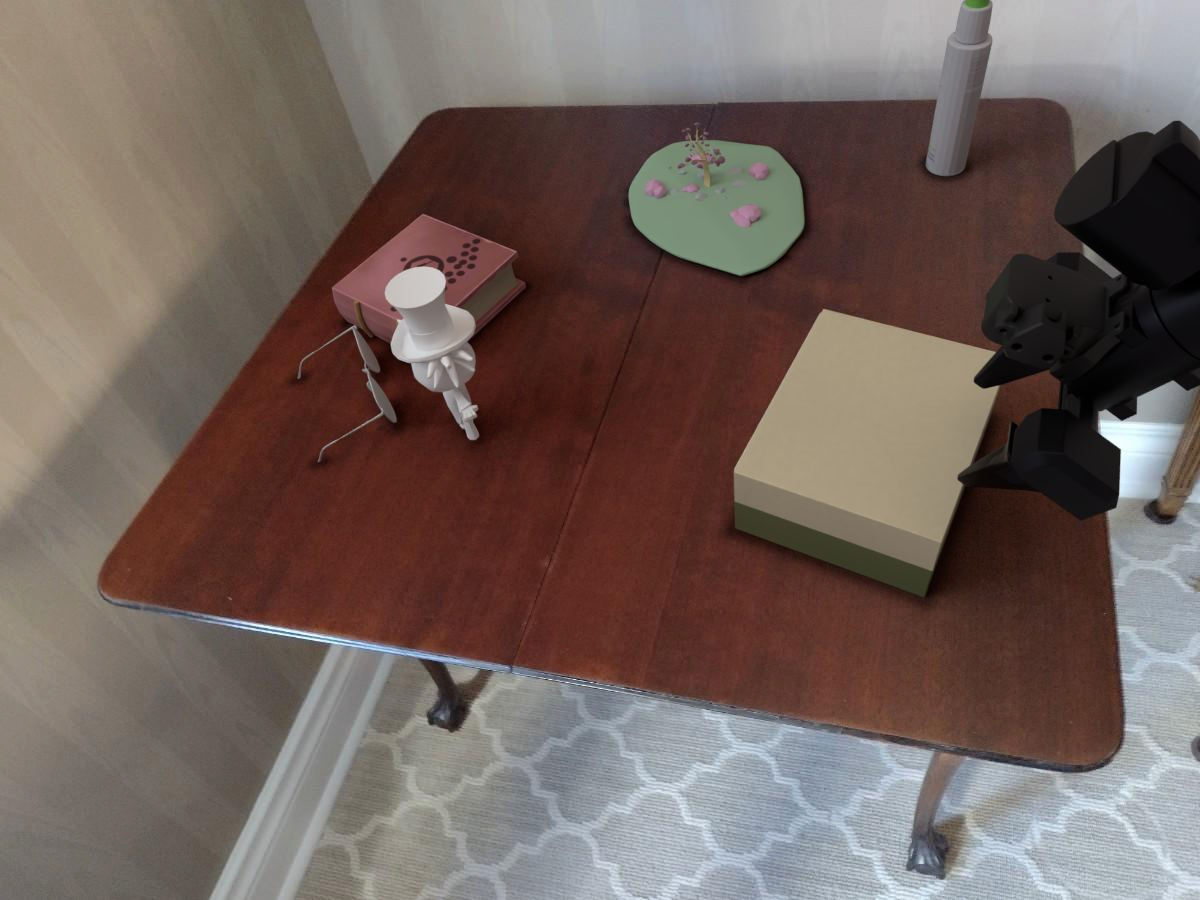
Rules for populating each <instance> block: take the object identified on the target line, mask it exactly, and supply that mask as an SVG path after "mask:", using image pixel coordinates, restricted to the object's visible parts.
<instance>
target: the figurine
mask: <svg viewBox="0 0 1200 900" xmlns="http://www.w3.org/2000/svg"><path fill="white" fill-rule="evenodd" d="M445 284H446V280H445V276H444V274H443V273H442V272H441V271H440V270H437V269H435V268H433V267H414V268H411V269H408V270H405V271H403V272H401V273H399V274H397V275H396V276H395V277H394V278H393V279H391V280H390V282H389V283H388V285H387V286H386V289H385V297H386V300H387V301H388V302H389V303H390V304H391V305H392V306H393V307H394V308H395V309H397V310H398V311H399V313H400V314H401V315H402V317H403V319H402V320H399V319H397V321H398V323H399V324H398V326H397V328H396V330H395V332H394V335H393V338H392V341H391V343H390V349H391V352H392V355H393V356H394V357H395V358H396V359H397V360H399V361H402V362H405V363H408V364H410V365H411V369H412V373H413V377H414V379H415V380H416V381H417V382H418V383H419V384H421V385H422V386H424V387H425V388H426V389H427V390H429V391H430V392H433V393H442V395H443V398H444V400H445V404H446V405H447V407H448V409H449V410H450V412H451V413H452V416H453V417H454V419H455V421H456V423H457V424H458V425H459V427H461V430H462V429H463V430H465V433H466V437H467V438H468V440H470V441H476V440H477V439H478V438H479V437H480V433H479V431H478V429H477V427H476V425H475V423H474V420H475V419H476V418H478V414H477V413H476V412H477V411H478V410H479V407H478V405H477V404H474V405H473V404H472V399H471V396H470V393H469V391H468V387H467V386H466V383H467V382H469V381H471V379H472V378H473V376H474V375H475V372H476V364H477V363H476V361H477V360H476V354H475V351H474V349H473V346H472V345H471V344H470V343H469V341H470V340H471V339H472V338H473V337H474V336H473V334H474V331H475V327H476V324H475V321H474V317H473V316H472V315H471V314H470V313H469V312H468V311H466V310H463V309H461V308H458V307H454V306H451V305H447V304H445V297H444V292H445ZM472 336H473V337H472ZM471 337H472V338H471ZM470 338H471V339H470ZM469 339H470V340H469ZM468 340H469V341H468ZM467 341H468V342H467Z"/></svg>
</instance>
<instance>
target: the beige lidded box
mask: <svg viewBox="0 0 1200 900" xmlns="http://www.w3.org/2000/svg"><path fill="white" fill-rule="evenodd" d="M996 352H997V351H994V350H990V349H985V348H981V347H977V346H974V345H969V344H965V343H961V342H958V341H954V340H950V339H945V338H941V337H937V336H933V335H929V334H926V333H921V332H917V331H913V330H910V329H906V328H901V327H897V326H895V325H890V324H885V323H881V322H878V321H873V320H869V319H866V318H863V317H857V316H853V315H850V314H846V313H842V312H838V311H834V310H830V309H826V308H823V309H822V311H821V312H819V314H818V315H817V317H816V319H815V321H814V323H813V325H812V327H811V328H810V330H809V332H808V334H807V335H806V338H805V339H804V341H803V343H802V345H801V347H800V348H799V350H798V352H797V354H796V356H795V358H794V359H793V361H792V363H791V365H790V367H789V368H788V369H787V372H786V374H785V375H784V378H782V381H781V383H780V385H778V386H779V387H778V389H777V390H776V392H775V394H774V395H773V398H772V399H771V401H770V403H769V405H768V407H767V408H766V410H765V412H764V413H763V416H762V417H761V420H760V421H759V423H758V424H757V426H756V428H755V430H754V432H753V433H752V436H751V437H750V440H749V441H748V443H747V445H746V447H745V449H743V450H744V451H743V452H742V454H741V455H740V458H739V459H738V461H737V463H736V464H735V466H734V468H733V497H734V499H733V501H734V528H735V529H736V530H738V531H741V532H744V533H747V534H749V535H752V536H755V537H758V538H761V539H763V540H765V541H768V542H771V543H773V544H776V545H779V546H782V547H785V548H787V549H790V550H793V551H795V552H798V553H802V554H803V555H806V556H809V557H812V558H815V559H818V560H820V561H823V562H826V563H828V564H832V565H834V566H837V567H840V568H842V569H845V570H848V571H851V572H854V573H856V574H859V575H862V576H864V577H867V578H870V579H872V580H875V581H878V582H881V583H884V584H885V585H889V586H891V587H895V588H897V589H900V590H903V591H904V592H908V593H910V594H913V595H916V596H919V597H921V598H925V597H926V595H927V592H928V590H929V587H930V584H931V581H932V579H933V576H934V573H935V570H936V568H937V565H938V562H939V559H940V556H941V554H942V552H943V549H944V546H945V543H946V541H947V539H948V535H949V532H950V530H951V526H952V524H953V522H954V518H955V515H956V513H957V510H958V507H959V505H960V502H961V499H962V497H963V495H964V491H965V490H966V489H965V488H966V486H965V485H964V484H962V483H961V482H959V481H958V480H957V477H958V474H959V473H961V472H962V471H963V470H965V469H966V468H967V467H969V466H970V465H972V464H973V463H975V462H976V458H977V456H978V453H979V451H980V447H981V445H982V442H983V439H984V437H985V434H986V432H987V428H988V426H989V423H990V420H991V417H992V415H993V412H994V408H995V405H996V402H997V399H998V396H999V393H1000V389H1001V386H1002V385H999V386H995V387H990V388H986V389H982V388H981V387H979V386H978V385H976V384H975V383H974V377H975V376H976V374H977V373H978V372H979V371H980V370H981V369H982V368H983V366H984V365H985V364H986V363H987V362H988V361H989V360H990V359H991V357H992V356H993V355H994V354H995V353H996Z"/></svg>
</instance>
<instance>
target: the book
mask: <svg viewBox="0 0 1200 900" xmlns="http://www.w3.org/2000/svg"><path fill="white" fill-rule="evenodd" d="M518 258H519V255H518V251H517V250H514V249H512V248H509V247H507V246H504V245H502V244H500V243H497V242H495V241H492V240H490V239H487V238H484V237H482V236H480V235H477V234H474V233H472V232H469V231H467V230H465V229H462V228H459V227H457V226H455V225H452V224H451V223H447V222H444V221H442V220H440V219H437V218H434V217H433V216H429V215H428V214H425V213H422V214H421V215H420V216H418V217H417V218H416V219H415V220H414V221H412V222H411V223H410V224H409V225H407V226H406V227H405V228H404V229H402V230H401V231H400V232H399V233H398V234H396V235H395V236H394V237H392V238H391V239H390V240H389V241H388V242H386V243H385V244H384V245H383V246H381V247H380V248H379V249H378V250H376V251H375V252H374V253H372V255H370V256H369V257H368V258H366V259H365V260H364V261H363V262H361V264H359V265H358V266H357V267H356V268H355V269H353V270H352V271H350V272H349V273H348V274H347V275H346V276H344V277H343V278H342V279H340V280H339V281H338V282H337V283H335V285H333V286H332V287H331V290H332V291H331V292H332V296H333V302H334V304H335V306H336V309H337V310H338V312H339V314H340V315H341V316H342V317H343V318H344V319H345V320H346V321H347V323H349V324H351V325H352V326H354V325H355V326H356V327H357V328H359V329H361V330H363V331H364V333H366V334H367V336H368V337H369V338H371V339H372V338H374V337H376V338H379V339H381V340H383V341H385V342H386V343H388V344H391V341H392V338H393V335H394V332H395V330H396V328H397V326H398V324H399V323H398V321H397V319H399V320H402V319H403V317H402V315H401V314H400V313H399V311H398V310H397V309H395V308H394V307H393V306H392V305H391V304H390V303H389V302H388V301H387V300H386V297H385V289H386V286H387V285H388V283H389V282H390V280H391V279H393V278H394V277H395V276H396V275H397V274H399V273H401V272H403V271H405V270H408V269H411V268H414V267H433V268H435V269H437V270H440V271H441V272H442V273H443V274H444V276H445V280H446V284H445V292H444V297H445V304H447V305H451V306H454V307H458V308H461V309H463V310H466V311H468V312H469V313H470V314H471V315H472V316H473V317H474V321H475V324H476V327H475V331H474V334H473V336H472V337H471V338H470V339H469V340H468V341H467V343H469V341H470V340H471V339H472V338H473V337H474V336H475V335H477V333H479V332H480V331H481V330H482V329H483V328H484V327H485V326H486V325H487V324H488V323H489V322H490V321H491V320H492V319H494V318H495V317H496V316H497V315H498V314H499V313H500V312H501V311H502V310H503V309H504V308H505V307H506V306H507V305H508V304H510V303H511V301H513V300H514V299H515V298H516V297H517V296H518V295H519V294H520V293H521V292H523V291H524V290H525V289H526V288H527V286H526V282H525V281H524V280H520V279H518V278H516V277H515V273H514V270H513V262H514V261H515V260H517V259H518Z"/></svg>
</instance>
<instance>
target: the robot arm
mask: <svg viewBox="0 0 1200 900" xmlns="http://www.w3.org/2000/svg"><path fill="white" fill-rule="evenodd" d="M1058 196H1059V197H1058V198H1057V200H1056V203H1055V206H1054V210H1053V216H1054V217H1053V218H1054V220H1055V222H1056V223H1057V224H1058V225H1060V226H1061V227H1062V228H1063V229H1065V230H1066V231H1067V232H1069V234H1071V235H1072V236H1073V237H1075V238H1076V239H1077V240H1078V241H1079V242H1081V243H1082V244H1084V245H1085V246H1086V247H1088V249H1090V250H1091V251H1092V252H1094V253H1095V254H1096V255H1098V256H1099V257H1100V258H1101V259H1102V260H1104V261H1105V262H1106V263H1107V264H1109V266H1111V267H1113V268H1114V269H1115V270H1117V271H1118V272H1119V274H1118V275H1116V276H1114V277H1112V276H1111V275H1109V273H1107V272H1106V271H1104V270H1103V268H1101V267H1099V266H1098V265H1097V264H1095V262H1093V261H1091V259H1089V258H1088V257H1086V256H1085V255H1084V254H1082V253H1081V252H1077V251H1076V252H1075V251H1073V252H1072V251H1067V252H1066V251H1063V252H1057V253H1055V254H1053V255H1052V256H1050V257H1049V258H1048V259H1042V258H1039V257H1037V256H1033V255H1031V254H1027V253H1016V254H1014V255H1013V256H1012V257H1011V258H1010V260H1009V261H1008V263H1007V264H1006V266H1004V268H1003V269H1002V271H1001V272H1000V274H998V277H997V278H996V280H995V281H994V282H993V284H992V285H991V287H990V288H989V289H988V291H987V293H986V296H985V307H984V312H983V313H984V314H983V318H982V320H981V325H980V329H981V332H982V335H983V336H984V337H985V338H986V339H987V340H989V341H990V342H992V343H995V344H997V345H999V346H1000V347H999V348H998V349H997V350H996V351H995V352H996V353H995V354H994V355H993V356H992V357H991V359H990V360H989V361H988V362H987V363H986V364H985V365H984V366H983V368H982V369H981V370H980V371H979V372H978V373H977V374H976V376H975V377H974V383H975V384H976V385H978V386H979V387H981V388H982V389H986V388H990V387H995V386H999V385H1001V386H1003V385H1006V384H1009V383H1012V382H1016V381H1018V380H1022V379H1024V378H1025V379H1026V378H1028V377H1031V376H1033V375H1037V374H1041V373H1043V372H1046V371H1048V374H1050V375H1051V376H1052V377H1053V378H1054V379H1056V380H1057V381H1058V382H1059V389H1058V390H1059V391H1058V399H1057V400H1058V402H1057V408H1050V407H1041V408H1039V409H1037V410H1035V411H1033V412H1030V413H1029V414H1027V415H1026V416H1025V417H1024V418H1023V419H1022V421H1021V422H1020V424H1017V423H1015V422H1014V421H1010V423H1009V428H1008V435H1007V442H1006V443H1005V444H1003V445H1001V446H1000V447H998V448H997V449H995V450H993V451H992V452H990V453H989V454H987V455H985V456H983V457H982V458H980V459H978V460H977V461H974V463H973V464H972V465H970V466H969V467H967V468H966V469H965V470H963V471H962V472H961V473H959V474H958V477H957V480H958V481H959V482H961V483H962V484H964V485H965V487H967V488H976V489H977V488H978V489H993V490H1009V491H1023V492H1024V491H1025V492H1033V493H1038V494H1041V495H1043V496H1044V497H1046V498H1047V499H1048V500H1050V501H1051V502H1053V503H1054V504H1056V505H1057V506H1058V507H1060V508H1061V509H1063V510H1064V511H1066V512H1067V513H1069V514H1070V515H1071V516H1073V517H1074V518H1076V519H1077V520H1078V521H1080V522H1082V521H1085V520H1087V519H1090V518H1091V519H1092V518H1094V517H1096V516H1098V515H1100V514H1104V513H1106V512H1109V511H1112V510H1115V509H1117V506H1118V502H1119V498H1120V488H1121V486H1120V485H1121V460H1122V459H1121V457H1122V449H1121V448H1120V447H1118V446H1117V445H1115V443H1113V442H1112V441H1111V440H1109V439H1108V438H1107V437H1105V436H1104V435H1102V434H1101V433H1099V432H1098V429H1099V427H1098V426H1099V414H1100V413H1099V412H1103V411H1107V412H1109V413H1110V414H1111V415H1112V416H1114V417H1115V418H1116V419H1119V421H1121V422H1123V421H1125V420H1128V419H1129V418H1132V417H1134V416H1136V415H1138V398H1139V397H1141V396H1144V395H1145V394H1149V392H1152V391H1154V390H1156V389H1158V388H1160V387H1162V386H1164V385H1167V384H1169V383H1171V382H1175V383H1176V384H1177V385H1178V386H1180V387H1181V388H1183V390H1184V391H1186V392H1189V391H1190V390H1194V389H1195V388H1198V387H1199V386H1200V138H1199V136H1198V135H1197V134H1196V133H1195V131H1194V130H1192V129H1191V128H1190V127H1189V126H1188V125H1186V124H1185V123H1184V122H1183V121H1181V120H1172V121H1171V122H1169V123H1168V124H1167V125H1166V126H1164V127H1163V128H1161V129H1160V130H1159V131H1157V132H1156V133H1153V132H1149V131H1147V130H1145V131H1138V132H1134V133H1132V134H1129V135H1126V136H1125V137H1122V138H1120V139H1119V140H1116V139H1113V140H1111V141H1109V142H1108V143H1107V144H1105V145H1104V146H1102V147H1101V148H1100V149H1099V150H1097V151H1096V152H1095V153H1094V154H1093V155H1091V156H1090V157H1089V158H1088V159H1087V160H1086V161H1085V162H1084V163H1083V164H1082V165H1081V166H1080V167H1079V168H1078V170H1076V172H1075V173H1074V174H1073V176H1071V178H1070V180H1069V181H1068V182H1067V183H1066V185H1065V186H1064V188H1063V190H1062V191H1061V192H1060V195H1058Z"/></svg>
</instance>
